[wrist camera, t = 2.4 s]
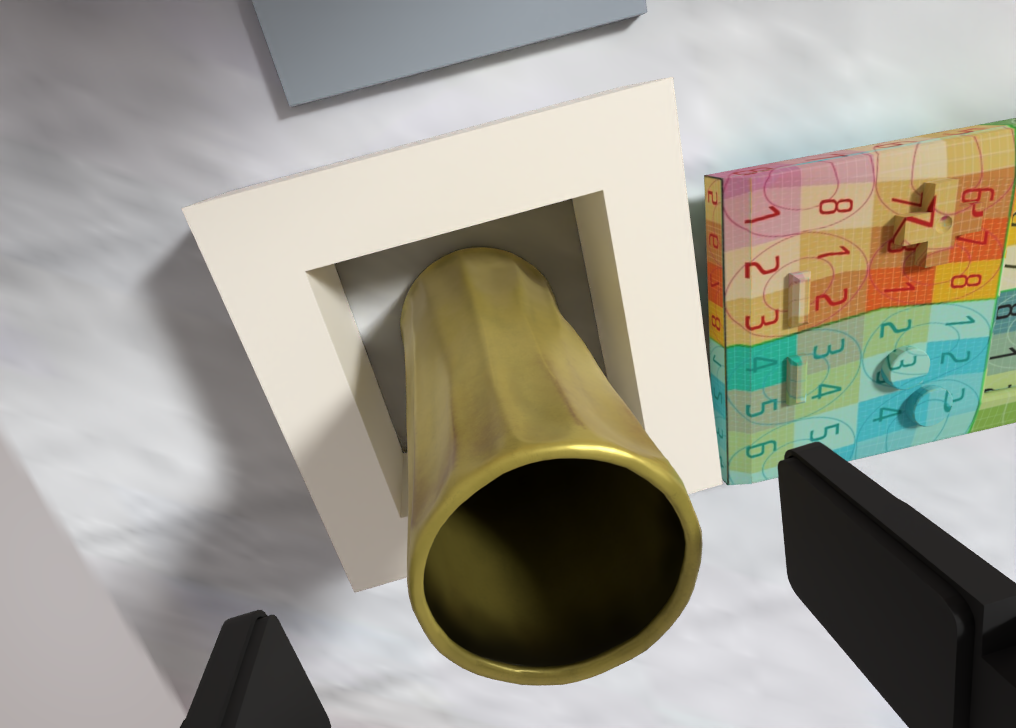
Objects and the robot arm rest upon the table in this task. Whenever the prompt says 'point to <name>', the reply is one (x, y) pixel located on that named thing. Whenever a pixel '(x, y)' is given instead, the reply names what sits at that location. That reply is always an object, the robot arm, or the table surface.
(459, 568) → the vase
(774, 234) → the puzzle game
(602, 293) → the well board
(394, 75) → the mat
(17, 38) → the table surface
